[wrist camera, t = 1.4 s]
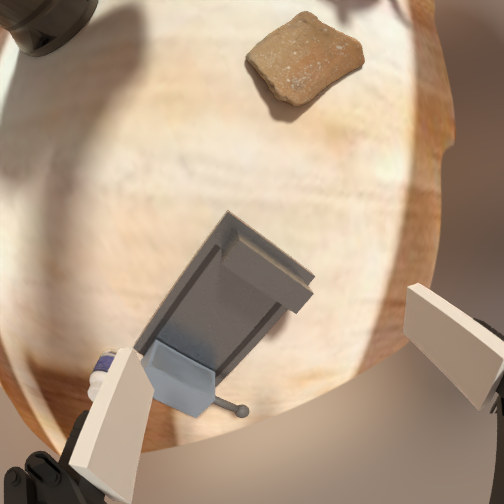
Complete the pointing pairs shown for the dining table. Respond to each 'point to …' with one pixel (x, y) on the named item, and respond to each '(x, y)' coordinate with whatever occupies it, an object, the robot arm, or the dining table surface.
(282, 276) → the vise
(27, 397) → the dining table surface
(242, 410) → the block
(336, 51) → the stone
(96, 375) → the pill bottle
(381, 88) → the dining table surface
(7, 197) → the dining table surface
